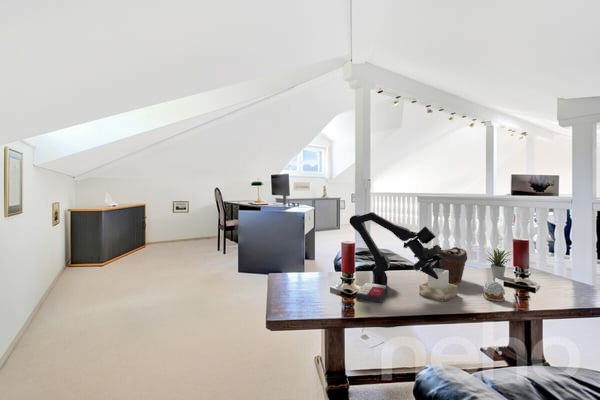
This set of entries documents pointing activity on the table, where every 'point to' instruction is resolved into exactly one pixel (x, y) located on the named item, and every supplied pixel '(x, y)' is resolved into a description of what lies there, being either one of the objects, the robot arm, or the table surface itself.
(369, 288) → the red and white box
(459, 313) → the table surface
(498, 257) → the house plant
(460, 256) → the brown flower pot
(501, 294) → the decorative ornament
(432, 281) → the white upright block
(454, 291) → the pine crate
